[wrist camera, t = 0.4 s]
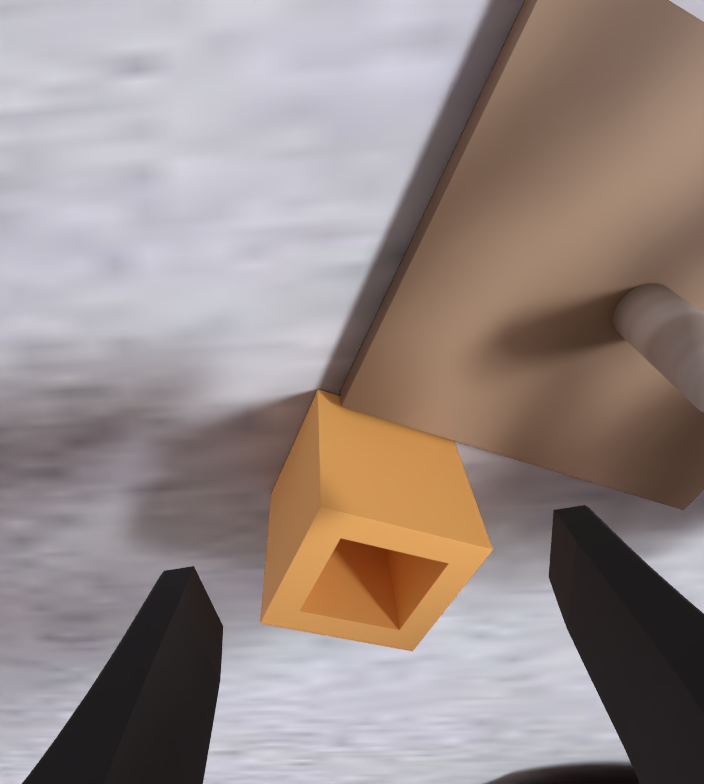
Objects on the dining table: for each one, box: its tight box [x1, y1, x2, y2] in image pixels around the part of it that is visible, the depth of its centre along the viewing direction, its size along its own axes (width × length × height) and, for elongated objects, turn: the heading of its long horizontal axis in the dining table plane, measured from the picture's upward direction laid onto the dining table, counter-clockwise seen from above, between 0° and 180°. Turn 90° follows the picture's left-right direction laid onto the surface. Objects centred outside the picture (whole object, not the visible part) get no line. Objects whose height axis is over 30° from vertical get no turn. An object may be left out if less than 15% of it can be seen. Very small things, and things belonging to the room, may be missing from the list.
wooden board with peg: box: [340, 0, 704, 510], centre depth 17 cm, size 16×14×6 cm
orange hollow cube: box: [260, 389, 493, 651], centre depth 20 cm, size 6×6×6 cm
